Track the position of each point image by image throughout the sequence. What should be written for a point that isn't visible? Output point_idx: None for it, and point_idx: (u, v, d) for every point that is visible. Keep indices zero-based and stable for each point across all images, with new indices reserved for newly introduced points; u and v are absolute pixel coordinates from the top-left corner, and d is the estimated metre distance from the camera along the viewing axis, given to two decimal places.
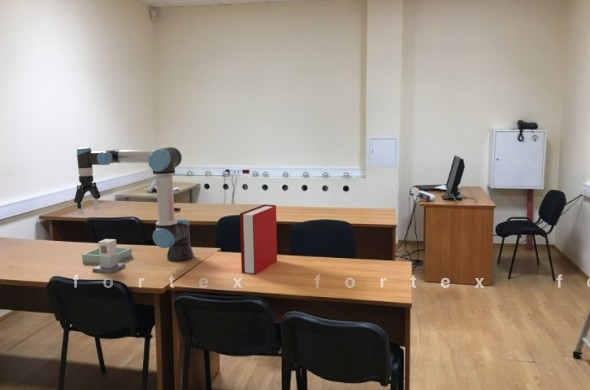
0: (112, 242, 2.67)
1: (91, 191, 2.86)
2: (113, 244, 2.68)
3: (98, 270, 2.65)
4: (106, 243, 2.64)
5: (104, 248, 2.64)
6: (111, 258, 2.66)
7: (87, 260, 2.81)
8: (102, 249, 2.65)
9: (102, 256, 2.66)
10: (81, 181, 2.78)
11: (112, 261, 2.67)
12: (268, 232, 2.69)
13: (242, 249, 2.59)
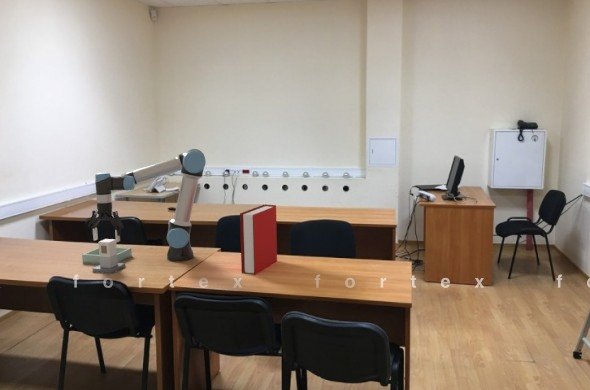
0: (112, 242, 2.67)
1: None
2: (113, 244, 2.68)
3: (98, 270, 2.65)
4: (106, 243, 2.64)
5: (104, 248, 2.64)
6: (111, 258, 2.66)
7: (87, 260, 2.81)
8: (102, 249, 2.65)
9: (102, 256, 2.66)
10: None
11: (112, 261, 2.67)
12: (268, 232, 2.69)
13: (242, 249, 2.59)
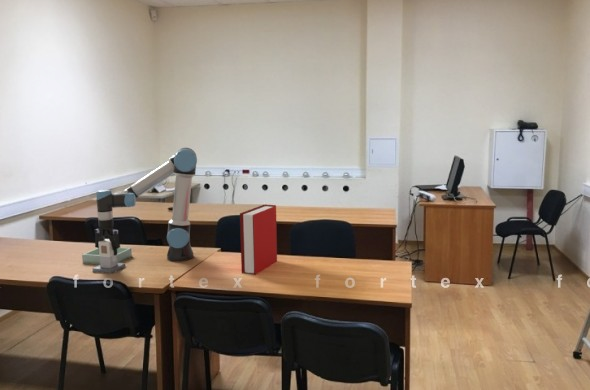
0: None
1: None
2: None
3: (98, 270, 2.65)
4: (106, 243, 2.64)
5: (104, 248, 2.64)
6: (111, 258, 2.66)
7: (87, 260, 2.81)
8: (102, 249, 2.65)
9: (102, 256, 2.66)
10: None
11: None
12: (268, 232, 2.69)
13: (242, 249, 2.59)
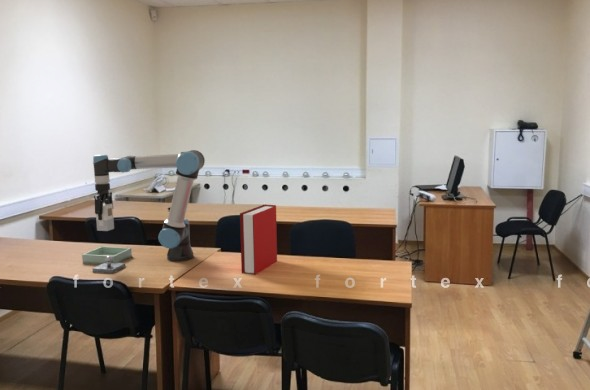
0: None
1: (106, 201, 2.75)
2: None
3: (98, 270, 2.65)
4: (110, 205, 2.75)
5: (110, 210, 2.74)
6: None
7: (87, 260, 2.81)
8: (109, 212, 2.73)
9: (108, 219, 2.73)
10: (98, 189, 2.69)
11: None
12: (268, 232, 2.69)
13: (242, 249, 2.59)
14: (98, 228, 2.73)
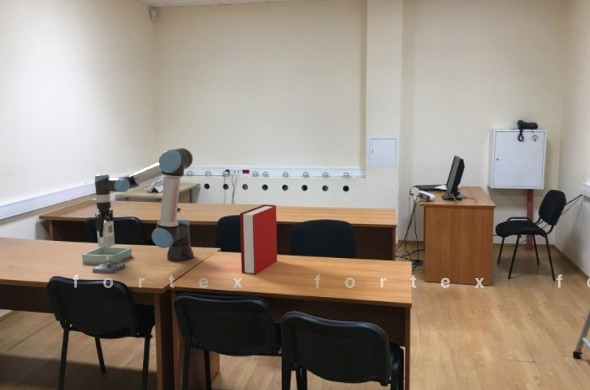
0: None
1: (107, 218, 2.86)
2: None
3: (98, 270, 2.65)
4: (111, 222, 2.86)
5: (111, 227, 2.85)
6: None
7: (87, 260, 2.81)
8: (110, 229, 2.84)
9: (109, 236, 2.84)
10: (99, 208, 2.80)
11: None
12: (268, 232, 2.69)
13: (242, 249, 2.59)
14: (99, 244, 2.84)
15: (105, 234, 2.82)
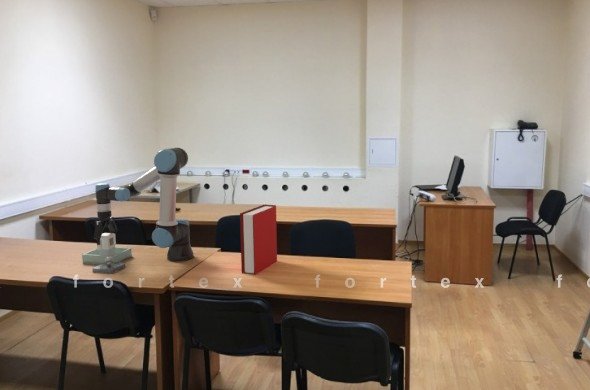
0: None
1: (109, 226, 2.88)
2: None
3: (98, 270, 2.65)
4: (112, 235, 2.87)
5: (112, 240, 2.86)
6: None
7: (87, 260, 2.81)
8: (111, 241, 2.85)
9: (110, 248, 2.85)
10: (100, 217, 2.81)
11: None
12: (268, 232, 2.69)
13: (242, 249, 2.59)
14: None
15: (106, 246, 2.83)
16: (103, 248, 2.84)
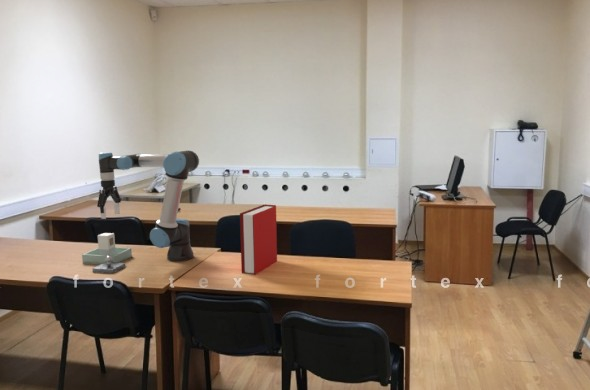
0: None
1: (112, 195, 2.88)
2: None
3: (98, 270, 2.65)
4: (112, 235, 2.87)
5: (112, 240, 2.86)
6: None
7: (87, 260, 2.81)
8: (111, 241, 2.85)
9: (110, 248, 2.85)
10: (103, 186, 2.81)
11: None
12: (268, 232, 2.69)
13: (242, 249, 2.59)
14: None
15: (106, 246, 2.83)
16: (103, 248, 2.84)
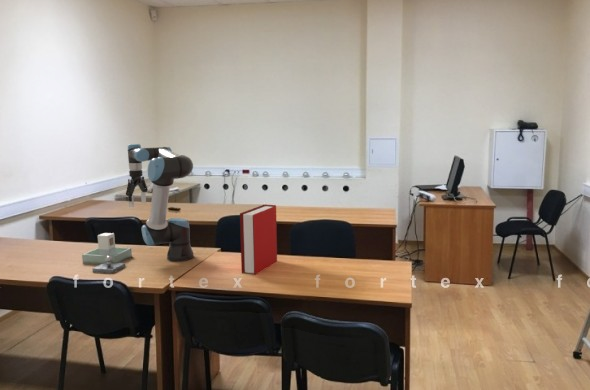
0: None
1: (140, 185, 3.04)
2: None
3: (98, 270, 2.65)
4: (112, 235, 2.87)
5: (112, 240, 2.86)
6: None
7: (87, 260, 2.81)
8: (111, 241, 2.85)
9: (110, 248, 2.85)
10: (132, 175, 2.96)
11: None
12: (268, 232, 2.69)
13: (242, 249, 2.59)
14: None
15: (106, 246, 2.83)
16: (103, 248, 2.84)
